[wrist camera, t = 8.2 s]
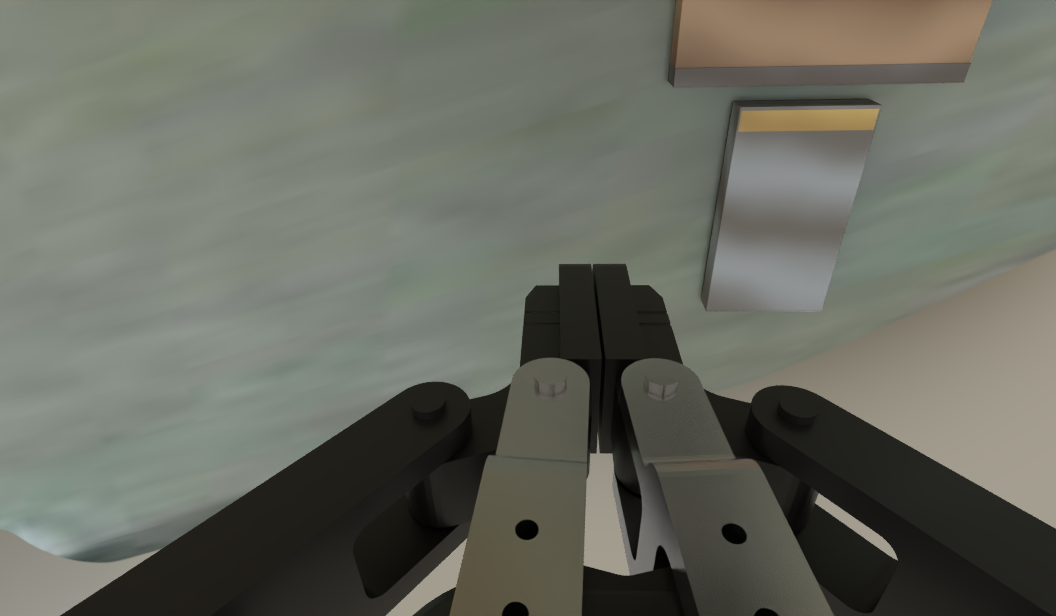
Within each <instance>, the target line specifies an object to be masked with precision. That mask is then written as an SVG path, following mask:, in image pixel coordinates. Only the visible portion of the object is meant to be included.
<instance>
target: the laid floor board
mask: <svg viewBox="0 0 1056 616" xmlns="http://www.w3.org/2000/svg"><path fill="white" fill-rule="evenodd" d="M992 1H993V0H676V8H675V18H674V27H673V37H672V47H671V56H670V66H669V76H668V81H669V83H670V84H671V85H672V86H673V87H727V86H785V85H843V84H901V83H960V82H964V80H965V77H966V75H967V72H968V69H969V66H970V64H971V63H970V60H971V58H972V55H973V52H974V49H975V47H976V44H977V41H978V39H979V36H980V33H981V31H982V28H983V25H984V22H985V20H986V17H987V14H988V12H989V9H990V6H991V3H992Z"/></svg>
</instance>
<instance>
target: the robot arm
mask: <svg viewBox="0 0 1056 616" xmlns="http://www.w3.org/2000/svg"><path fill="white" fill-rule="evenodd" d="M597 434H598V438H599V450H600V453H613V462H614V473H613V483H612V486H613V493H614V498H615V502H616V507H617V513H618V518H619V523H620V528H621V533H622V538H623V543H624V548H625V553H626V558H627V563H628V568H629V573H630V576H622V575H617V574H614V573H610V572H606V571H602V570H598V569H594V568H591V567H587V566H583V564H584V535H585V534H584V533H585V507H586V480H587V478H588V474H589V465H590V453H596V451H597ZM818 493H820V494H821V495H823V496H824V497H825V498H827V499H829V500H830V501H831V502H833V503H834V504H836V505H837V506H839V507H840V508H841V509H843V510H844V511H846V512H847V513H849V514H850V515H851V516H853V517H854V518H856V519H857V520H859V521H860V522H862V523H863V524H865V525H866V526H867V527H869V528H870V529H872V530H873V531H875V532H876V533H878V534H879V535H880V536H882V537H883V538H884V539H885V540H886V541H887V542H888V543H889V544H890V545H891V547H892V548H893V550H894V551H895V553H896V555H897V558H898V561H897V560H895V559H893V558H892V557H890V556H888V555H887V554H886V553H884V552H883V551H881V550H880V549H879V548H877V547H876V546H874V545H873V544H871V543H870V542H869V541H867V540H866V539H865V538H863V537H862V536H860V535H859V534H857V533H856V532H855V531H853V530H852V529H850V528H849V527H847V526H846V525H845V524H843V523H842V522H841V521H839V520H838V519H836V518H835V517H833V516H832V515H831V514H829V513H828V512H826V511H825V510H824V509H822V508H821V507H819V506H818V505H816V504H815V501H816V499H817V496H818ZM466 538H467V543H466V547H465V551H464V555H463V560H462V564H461V568H460V573H459V577H458V581H457V585H456V587H455V588H453V589H451V590H449V591H447V592H445V593H443V594H441V595H440V596H438V597H437V598H435V599H434V600H432V601H431V602H429V603H428V604H426V605H425V606H424V607H422V608H421V609H420V610H419V611H418V612H416V613H415V614H414V615H413V616H1056V529H1055V528H1053V527H1051V526H1050V525H1048V524H1046V523H1044V522H1043V521H1041V520H1039V519H1037V518H1036V517H1034V516H1032V515H1030V514H1028V513H1027V512H1025V511H1023V510H1021V509H1019V508H1018V507H1016V506H1014V505H1012V504H1011V503H1009V502H1007V501H1005V500H1004V499H1002V498H1000V497H998V496H997V495H995V494H993V493H991V492H989V491H988V490H986V489H984V488H982V487H981V486H979V485H977V484H975V483H973V482H972V481H970V480H968V479H966V478H964V477H963V476H961V475H959V474H957V473H956V472H954V471H952V470H950V469H949V468H947V467H945V466H943V465H942V464H940V463H938V462H936V461H934V460H933V459H931V458H929V457H927V456H925V455H924V454H922V453H920V452H918V451H917V450H915V449H913V448H911V447H910V446H908V445H906V444H904V443H903V442H901V441H899V440H897V439H895V438H894V437H892V436H890V435H888V434H886V433H885V432H883V431H881V430H879V429H878V428H876V427H874V426H872V425H870V424H869V423H867V422H865V421H864V420H862V419H860V418H858V417H856V416H855V415H853V414H851V413H849V412H847V411H846V410H844V409H842V408H840V407H839V406H837V405H835V404H833V403H832V402H830V401H828V400H826V399H825V398H823V397H821V396H819V395H817V394H815V393H813V392H810V391H808V390H805V389H802V388H798V387H793V386H783V385H782V386H771V387H767V388H764V389H762V390H760V391H759V392H757V393H756V394H755V396H754V397H753V399H752V402H751V403H747V402H743V401H739V400H734V399H730V398H726V397H722V396H719V395H716V394H713V393H711V392H709V391H707V390H705V389H704V388H703V386H702V384H701V382H700V380H699V378H698V376H697V375H696V374H695V373H694V372H693V371H692V370H690V369H689V368H688V367H686V366H684V365H683V363H682V359H681V356H680V353H679V350H678V346H677V343H676V340H675V337H674V333H673V330H672V327H671V326H670V320H669V317H668V314H667V311H666V308H665V304H664V301H663V298H662V297H661V296H660V295H659V294H658V293H657V292H656V291H655V290H654V289H653V288H652V287H650V286H649V285H631V284H630V280H629V276H628V271H627V267H626V264H593V269H591V264H559V286H535V287H534V288H533V290H532V291H531V292H530V293H529V294H528V296H527V297H526V301H525V314H524V326H523V336H522V348H521V360H520V368H519V369H518V370H517V371H516V372H515V374H514V375H513V378H512V381H511V384H510V385H508V386H507V387H505V388H504V389H502V390H500V391H498V392H496V393H493V394H490V395H487V396H482V397H478V398H474V399H469V398H468V396H467V394H466V393H465V392H464V391H463V390H462V389H460V388H459V387H457V386H455V385H453V384H449V383H445V382H427V383H421V384H418V385H415V386H412V387H410V388H408V389H406V390H404V391H403V392H401V393H400V394H398V395H396V396H395V397H393V398H392V399H390V400H389V401H387V402H386V403H384V404H383V405H381V406H380V407H378V408H377V409H375V410H374V411H372V412H371V413H369V414H367V415H366V416H364V417H363V418H361V419H360V420H358V421H357V422H355V423H354V424H352V425H351V426H349V427H348V428H346V429H345V430H343V431H341V432H340V433H338V434H337V435H335V436H334V437H332V438H331V439H329V440H328V441H326V442H325V443H323V444H322V445H320V446H319V447H317V448H316V449H314V450H312V451H311V452H309V453H308V454H306V455H305V456H303V457H302V458H300V459H299V460H297V461H296V462H294V463H293V464H291V465H290V466H288V467H287V468H285V469H283V470H282V471H280V472H279V473H277V474H276V475H274V476H273V477H271V478H270V479H268V480H267V481H265V482H264V483H262V484H261V485H259V486H257V487H256V488H254V489H253V490H251V491H250V492H248V493H247V494H245V495H244V496H242V497H241V498H239V499H238V500H236V501H235V502H233V503H232V504H230V505H228V506H227V507H225V508H224V509H222V510H221V511H219V512H218V513H216V514H215V515H213V516H212V517H210V518H209V519H207V520H206V521H204V522H203V523H201V524H199V525H198V526H196V527H195V528H193V529H192V530H190V531H189V532H187V533H186V534H184V535H183V536H181V537H180V538H178V539H177V540H175V541H173V542H172V543H170V544H169V545H167V546H166V547H164V548H163V549H161V550H160V551H158V552H157V553H155V554H154V555H152V556H151V557H149V558H148V559H146V560H144V561H143V562H142V563H140V564H138V565H137V566H135V567H134V568H132V569H131V570H129V571H128V572H126V573H125V574H123V575H122V576H120V577H118V578H117V579H115V580H114V581H112V582H111V583H109V584H108V585H106V586H105V587H103V588H102V589H100V590H99V591H97V592H96V593H94V594H93V595H91V596H90V597H88V598H86V599H85V600H83V601H82V602H81V603H79V604H77V605H76V606H74V607H73V608H71V609H70V610H68V611H67V612H65V613H64V614H62V615H60V616H385V615H387V614H388V613H389V612H390V611H391V610H392V609H393V608H394V607H395V606H396V605H397V604H398V603H399V602H400V601H401V600H402V599H403V598H404V597H406V596H407V595H408V594H409V593H410V592H411V591H412V590H413V589H414V588H415V587H416V586H417V585H418V584H419V583H420V582H421V581H422V580H423V579H424V578H425V577H427V576H428V575H429V574H430V572H432V571H433V570H434V569H435V568H436V567H437V566H438V565H439V564H440V563H441V562H442V561H443V560H444V559H445V558H446V557H448V556H449V555H450V554H451V553H452V552H453V551H454V550H455V549H456V548H457V547H458V546H459V545H460V544H461V543H462V542H463V541H464V540H465V539H466Z"/></svg>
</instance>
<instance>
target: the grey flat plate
mask: <svg viewBox="0 0 1056 616" xmlns="http://www.w3.org/2000/svg"><path fill="white" fill-rule="evenodd" d="M881 108H882V105H881V104H879V103H876V102H874V101H872V100H870V99H850V100H787V101H733V106H732V112H731V118H730V124H729V131H728V137H727V143H726V149H725V155H724V161H723V168H722V174H721V180H720V186H719V192H718V199H717V205H716V211H715V217H714V223H713V230H712V236H711V242H710V248H709V254H708V261H707V267H706V273H705V279H704V285H703V292H702V298H701V301H702V303H703V305H704V308H705V310H706V311H814V312H821V310H822V307H823V304H824V300H825V297H826V293H827V290H828V287H829V283H830V280H831V277H832V273H833V270H834V266H835V263H836V260H837V256H838V253H839V250H840V246H841V243H842V239H843V236H844V233H845V229H846V226H847V223H848V219H849V216H850V212H851V209H852V206H853V202H854V199H855V196H856V192H857V189H858V185H859V182H860V179H861V175H862V172H863V169H864V165H865V162H866V158H867V155H868V152H869V148H870V145H871V142H872V138H873V135H874V131H875V128H876V125H877V121H878V118H879V115H880V111H881Z"/></svg>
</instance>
